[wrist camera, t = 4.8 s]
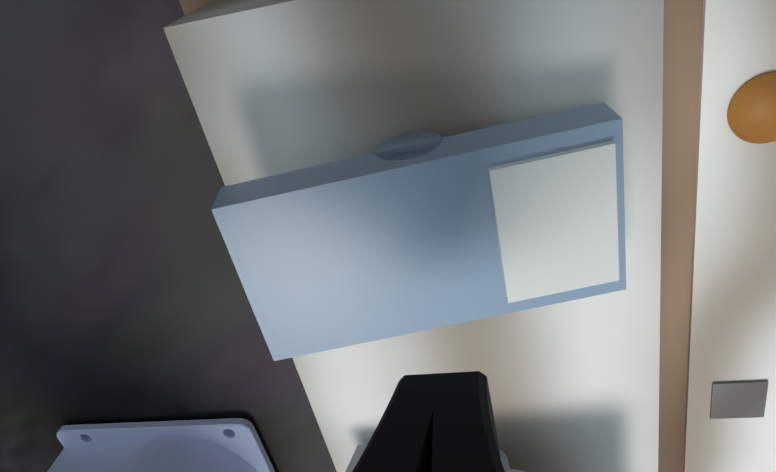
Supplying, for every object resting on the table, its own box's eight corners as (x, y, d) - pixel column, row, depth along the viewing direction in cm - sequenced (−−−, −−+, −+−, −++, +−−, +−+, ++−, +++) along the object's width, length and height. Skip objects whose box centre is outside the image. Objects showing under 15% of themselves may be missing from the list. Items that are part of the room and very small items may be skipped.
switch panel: (376, 502, 28) (359, 592, 24) (167, -84, 16) (79, -64, 12) (770, 500, 24) (815, 606, 21) (893, -270, 12) (1047, -312, 9)
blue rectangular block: (281, 315, 15) (273, 365, 14) (226, 173, 13) (209, 213, 12) (599, 249, 15) (628, 293, 13) (591, 91, 13) (625, 120, 11)
